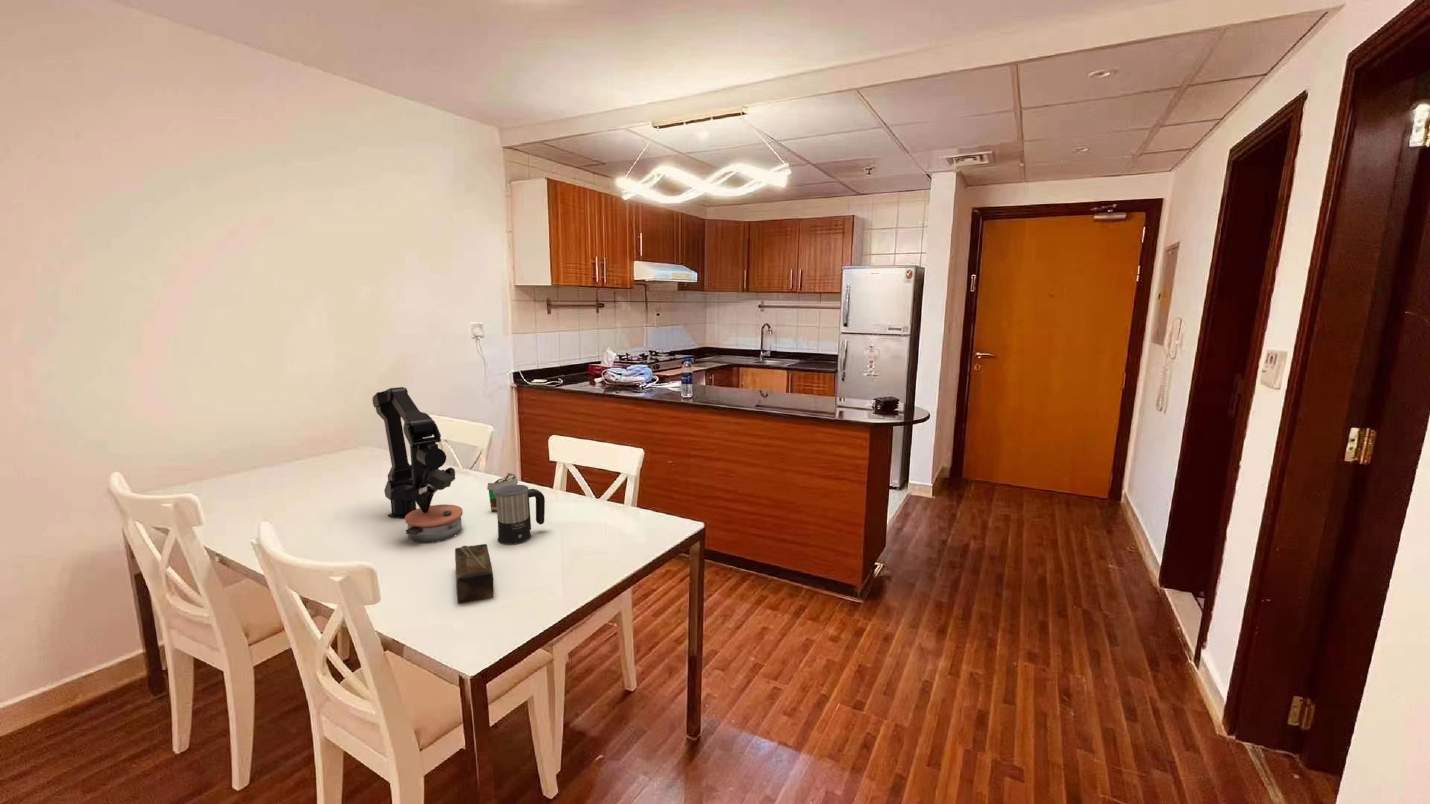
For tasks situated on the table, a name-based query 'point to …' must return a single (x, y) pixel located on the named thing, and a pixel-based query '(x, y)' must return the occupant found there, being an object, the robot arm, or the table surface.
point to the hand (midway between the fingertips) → (425, 512)
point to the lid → (434, 516)
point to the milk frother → (517, 512)
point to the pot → (434, 532)
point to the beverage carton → (473, 573)
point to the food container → (507, 480)
